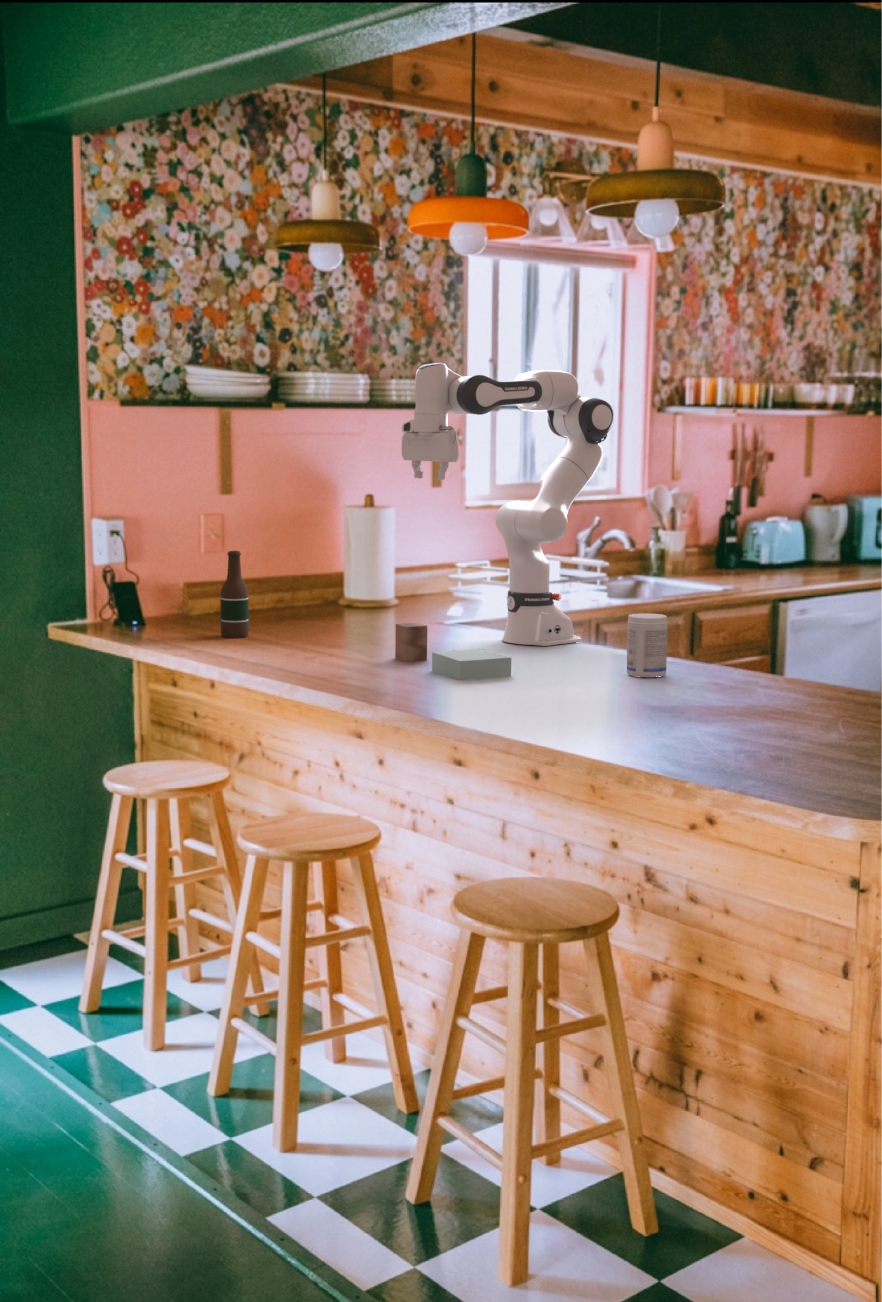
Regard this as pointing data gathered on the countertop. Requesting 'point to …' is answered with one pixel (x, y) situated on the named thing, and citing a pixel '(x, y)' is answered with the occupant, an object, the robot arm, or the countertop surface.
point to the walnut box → (411, 642)
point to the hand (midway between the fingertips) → (429, 478)
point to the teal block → (471, 664)
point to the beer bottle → (234, 601)
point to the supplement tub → (647, 645)
